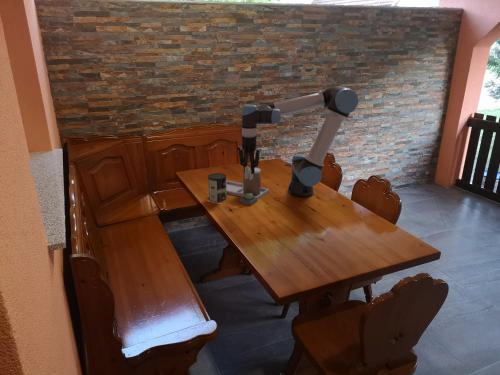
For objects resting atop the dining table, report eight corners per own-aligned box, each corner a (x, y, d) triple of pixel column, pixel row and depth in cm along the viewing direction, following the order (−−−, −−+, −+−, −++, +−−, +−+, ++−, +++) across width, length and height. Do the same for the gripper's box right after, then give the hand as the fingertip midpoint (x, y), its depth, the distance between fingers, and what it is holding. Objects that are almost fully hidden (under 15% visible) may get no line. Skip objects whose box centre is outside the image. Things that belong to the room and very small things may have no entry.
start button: (253, 198, 202) (253, 193, 201) (250, 201, 199) (250, 196, 198) (247, 197, 204) (247, 192, 203) (243, 199, 201) (243, 194, 200)
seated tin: (263, 192, 216) (264, 169, 211) (255, 197, 207) (255, 174, 202) (248, 188, 220) (248, 166, 215) (239, 194, 212) (239, 171, 207)
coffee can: (227, 196, 212) (227, 173, 207) (226, 203, 202) (225, 179, 197) (209, 195, 212) (208, 172, 207) (207, 203, 203) (206, 178, 198)
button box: (257, 202, 203) (257, 197, 202) (251, 207, 198) (251, 201, 197) (246, 200, 207) (246, 195, 206) (240, 204, 201) (240, 199, 200)
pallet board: (269, 193, 217) (269, 189, 216) (256, 201, 205) (256, 197, 204) (228, 184, 230) (227, 180, 229) (214, 191, 218) (214, 187, 217)
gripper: (265, 135, 188) (264, 179, 197) (240, 132, 195) (240, 174, 204) (258, 138, 182) (258, 183, 190) (232, 135, 189) (233, 178, 198)
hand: (249, 178), depth 197 cm, fingers open, 2 cm apart
